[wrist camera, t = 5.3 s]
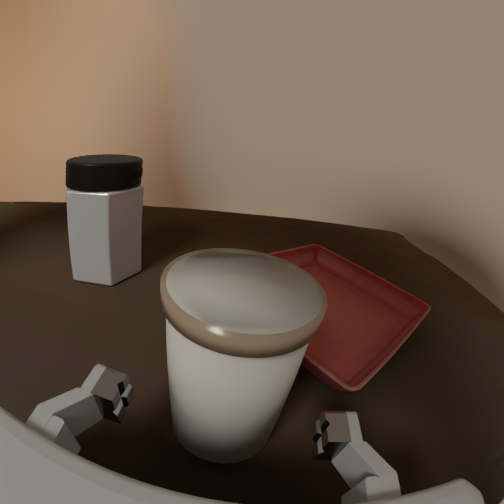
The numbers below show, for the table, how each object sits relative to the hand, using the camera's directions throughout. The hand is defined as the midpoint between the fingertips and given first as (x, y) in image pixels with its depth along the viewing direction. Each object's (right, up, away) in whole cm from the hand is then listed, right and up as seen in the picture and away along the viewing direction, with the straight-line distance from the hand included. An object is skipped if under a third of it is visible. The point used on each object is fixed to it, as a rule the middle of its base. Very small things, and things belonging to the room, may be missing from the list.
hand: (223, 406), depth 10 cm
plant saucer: (+8, -1, +18) cm, 19 cm away
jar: (-15, +4, +18) cm, 24 cm away
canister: (-1, -4, +4) cm, 6 cm away
